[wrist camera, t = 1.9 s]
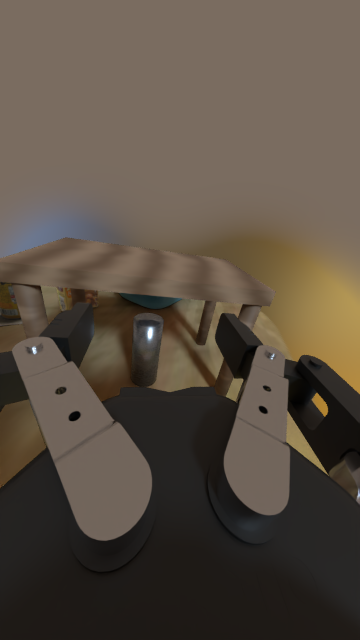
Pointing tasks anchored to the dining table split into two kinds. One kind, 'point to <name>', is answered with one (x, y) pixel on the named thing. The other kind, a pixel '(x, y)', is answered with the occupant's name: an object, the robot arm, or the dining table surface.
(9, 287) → the condiment
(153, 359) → the metal canister
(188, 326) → the dining table surface
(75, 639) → the robot arm
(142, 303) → the casserole dish
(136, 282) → the low stand
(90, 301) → the candy box
